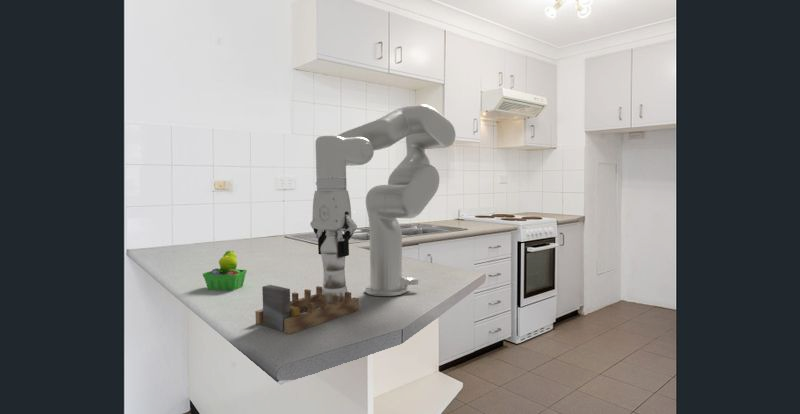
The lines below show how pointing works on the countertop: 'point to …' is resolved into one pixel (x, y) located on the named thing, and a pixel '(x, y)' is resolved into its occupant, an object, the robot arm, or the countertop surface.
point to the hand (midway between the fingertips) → (333, 254)
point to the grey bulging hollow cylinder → (332, 268)
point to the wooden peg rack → (300, 309)
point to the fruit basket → (225, 274)
